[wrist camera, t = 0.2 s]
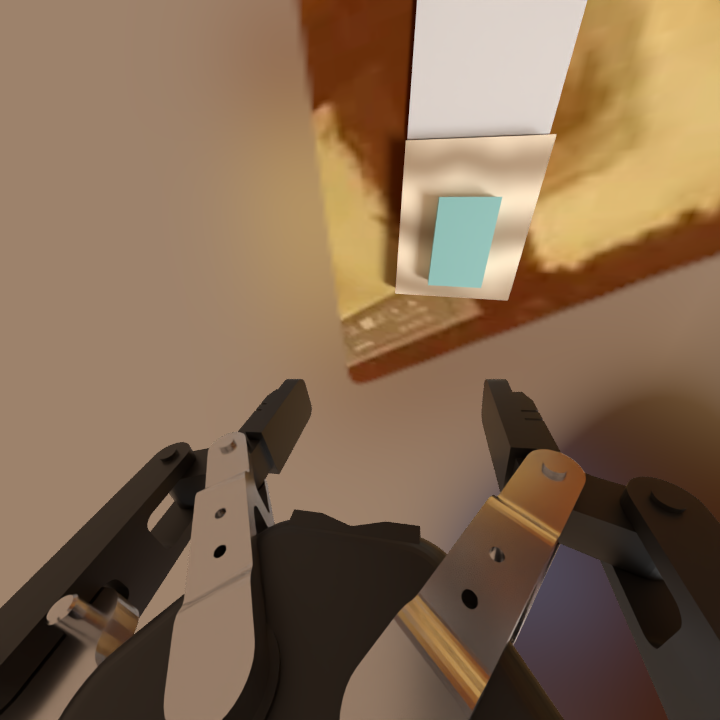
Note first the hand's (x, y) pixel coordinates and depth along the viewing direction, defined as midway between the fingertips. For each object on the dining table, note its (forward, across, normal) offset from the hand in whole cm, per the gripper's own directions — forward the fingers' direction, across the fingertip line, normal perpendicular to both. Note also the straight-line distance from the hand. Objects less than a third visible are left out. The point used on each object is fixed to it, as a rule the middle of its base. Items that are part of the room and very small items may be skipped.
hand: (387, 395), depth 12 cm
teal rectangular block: (+26, -6, -3) cm, 27 cm away
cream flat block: (+28, -6, -4) cm, 29 cm away
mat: (+28, -8, -18) cm, 34 cm away
